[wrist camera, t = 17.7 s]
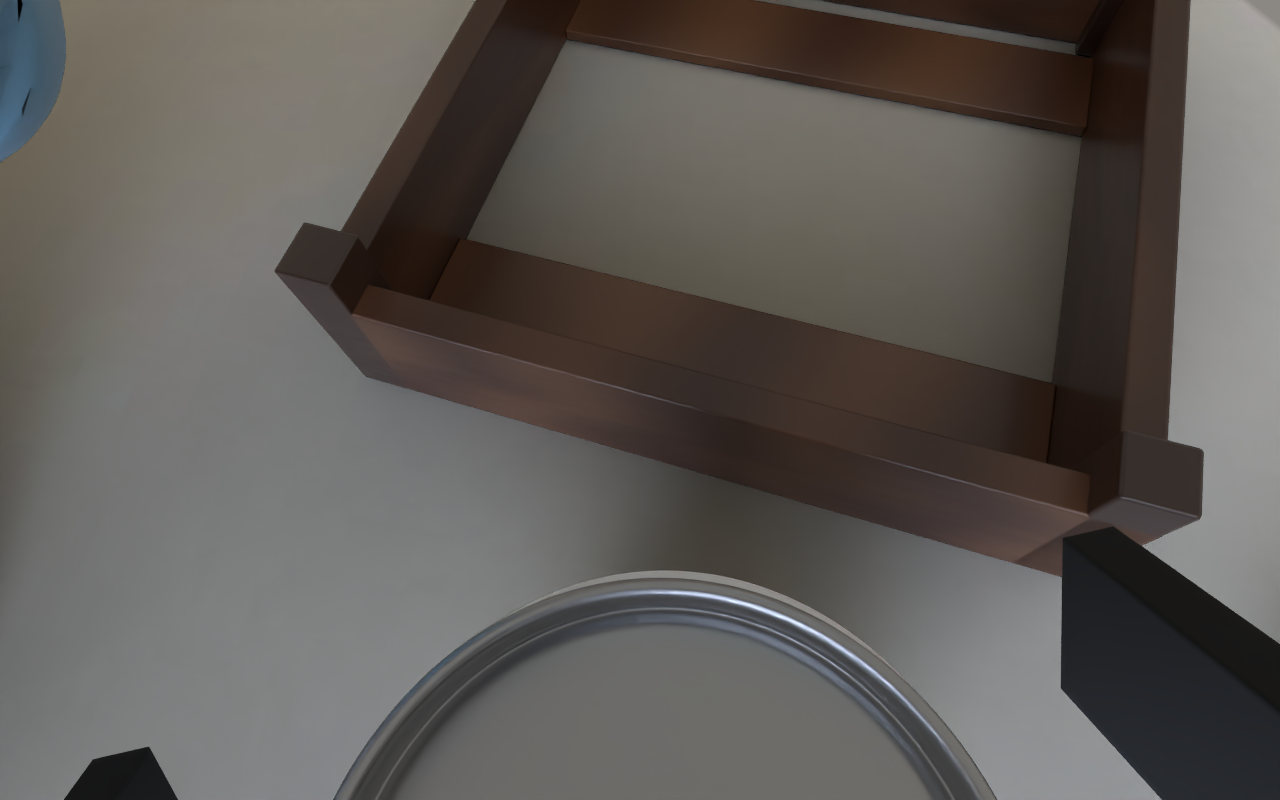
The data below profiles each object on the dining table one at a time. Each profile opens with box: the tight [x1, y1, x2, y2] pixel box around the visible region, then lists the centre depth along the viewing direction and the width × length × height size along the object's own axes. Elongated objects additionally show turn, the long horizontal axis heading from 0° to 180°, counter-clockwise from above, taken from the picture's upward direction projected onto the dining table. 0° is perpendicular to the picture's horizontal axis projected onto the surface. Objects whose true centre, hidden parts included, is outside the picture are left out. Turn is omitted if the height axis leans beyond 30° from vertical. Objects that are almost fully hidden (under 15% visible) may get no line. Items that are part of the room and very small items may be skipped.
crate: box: [275, 0, 1204, 577], centre depth 21 cm, size 19×19×5 cm
